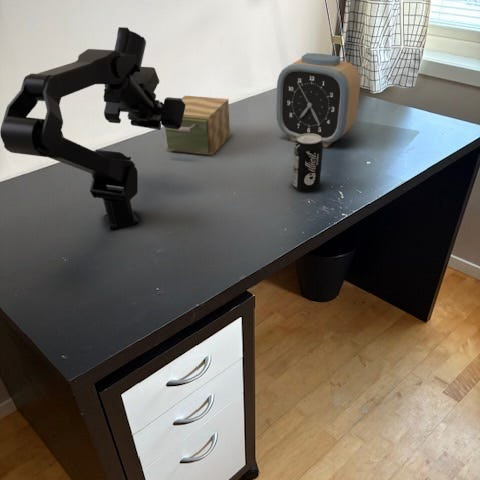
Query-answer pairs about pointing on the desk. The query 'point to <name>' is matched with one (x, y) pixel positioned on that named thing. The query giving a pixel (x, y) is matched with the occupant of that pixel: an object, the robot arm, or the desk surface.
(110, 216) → the robot arm
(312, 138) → the beverage can
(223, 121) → the cabinet
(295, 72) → the alarm clock
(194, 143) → the drawer
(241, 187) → the desk surface
